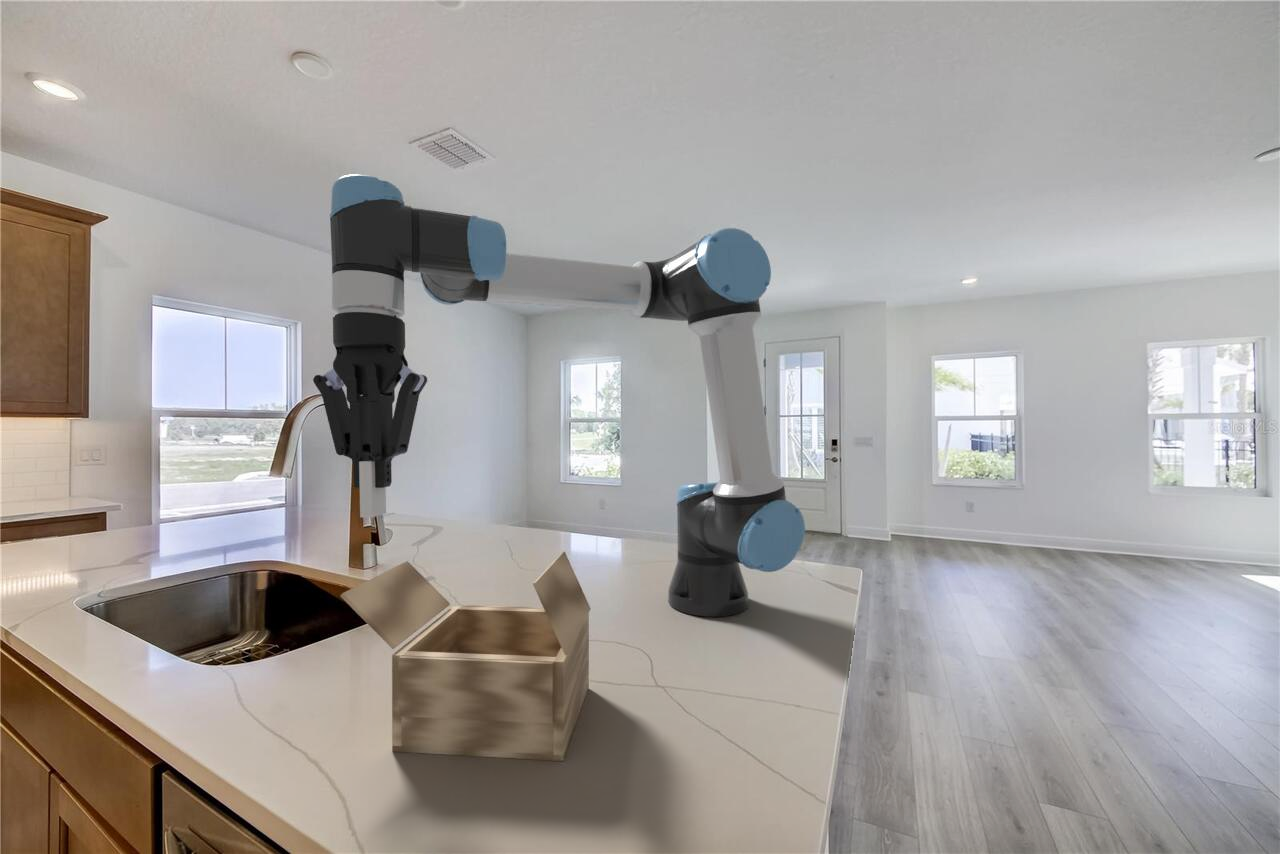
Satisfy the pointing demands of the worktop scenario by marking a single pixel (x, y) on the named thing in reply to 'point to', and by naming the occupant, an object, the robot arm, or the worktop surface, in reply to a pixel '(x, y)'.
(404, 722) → the carton
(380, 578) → the flap
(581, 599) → the flap
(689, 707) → the worktop surface
